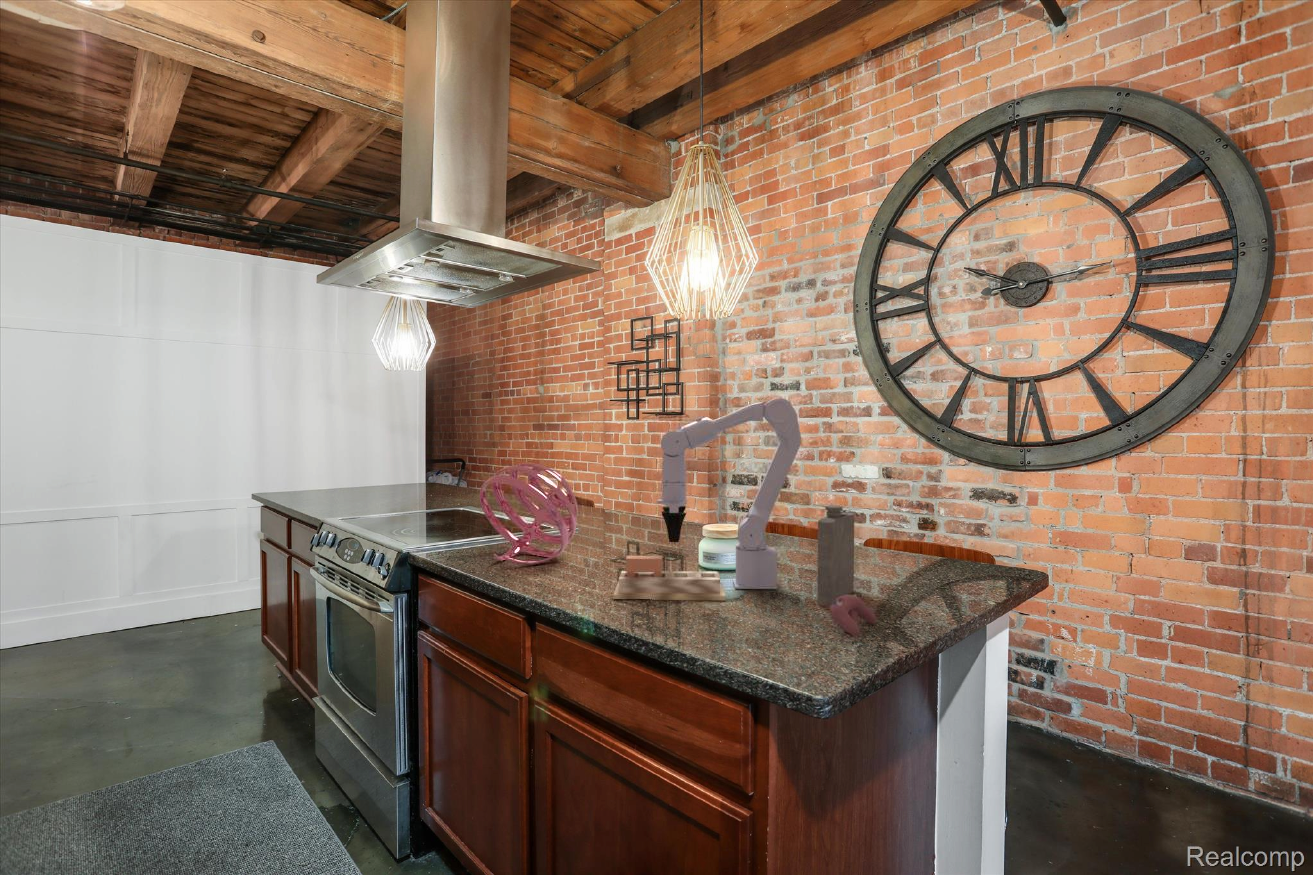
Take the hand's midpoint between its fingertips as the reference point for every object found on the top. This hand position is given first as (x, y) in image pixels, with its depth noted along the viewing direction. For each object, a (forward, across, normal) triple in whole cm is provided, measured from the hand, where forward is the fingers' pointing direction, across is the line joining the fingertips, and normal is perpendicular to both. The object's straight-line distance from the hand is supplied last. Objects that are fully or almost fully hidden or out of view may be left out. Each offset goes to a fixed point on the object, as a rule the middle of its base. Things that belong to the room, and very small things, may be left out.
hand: (674, 538), depth 151 cm
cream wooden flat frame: (+10, +9, -1) cm, 14 cm away
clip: (+9, +9, -7) cm, 15 cm away
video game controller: (+11, +31, +34) cm, 47 cm away
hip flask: (+11, +11, +35) cm, 38 cm away
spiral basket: (+11, -23, -39) cm, 47 cm away
